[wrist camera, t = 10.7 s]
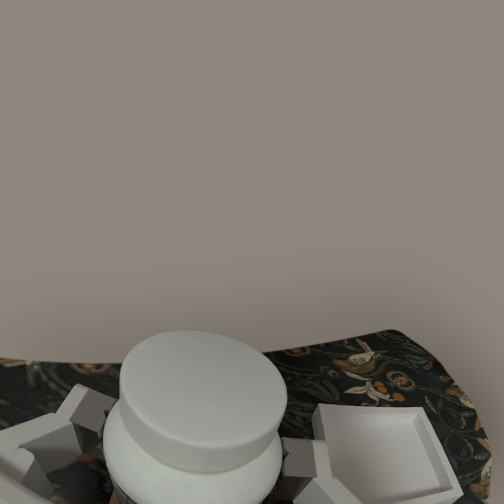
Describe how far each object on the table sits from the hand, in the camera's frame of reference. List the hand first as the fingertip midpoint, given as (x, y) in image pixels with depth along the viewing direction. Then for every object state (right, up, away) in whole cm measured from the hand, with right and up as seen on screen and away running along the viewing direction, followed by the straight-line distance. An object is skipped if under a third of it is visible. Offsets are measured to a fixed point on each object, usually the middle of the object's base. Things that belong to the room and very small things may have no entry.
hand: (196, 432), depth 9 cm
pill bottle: (-1, -6, +1) cm, 6 cm away
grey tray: (+14, -14, +13) cm, 24 cm away
